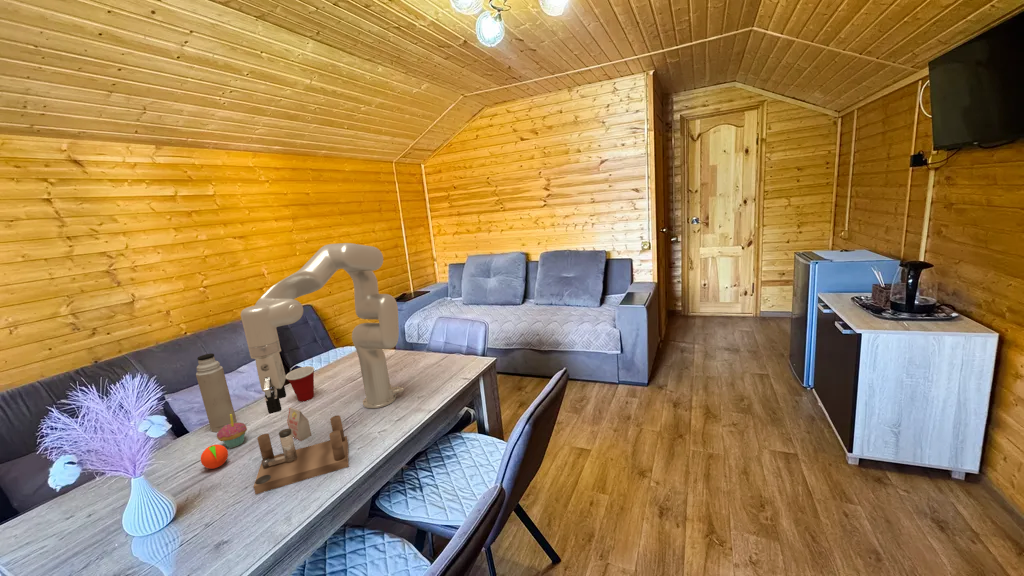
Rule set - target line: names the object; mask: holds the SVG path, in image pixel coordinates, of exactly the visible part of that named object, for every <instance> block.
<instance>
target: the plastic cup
mask: <svg viewBox="0 0 1024 576" xmlns="http://www.w3.org/2000/svg"><path fill="white" fill-rule="evenodd" d="M314 373H315V367H314V366H303V367H298V368H296V369H293V370H291V371H289V372H288V373H287V374H285V375H286V379H285V380H287V381H288V383H289V384H290V386H291V388H292V389H293V391H294V394H295V396H296V398H297V400H298V402H300V403H303V401H304V402H308V401H311V400H312V399H313V398H315V397H314V395H315V390H314V389H315V382H314V378H315V377H314V376H315V375H314ZM307 400H308V401H307Z"/></svg>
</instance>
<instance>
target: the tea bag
mask: <svg viewBox="0 0 1024 576" xmlns="http://www.w3.org/2000/svg"><path fill="white" fill-rule="evenodd" d="M288 409H289V410H288V415H287V420H286V423H287V425H288V429H291V432H292V436H293V437H294V438H293V439H295V438H296V439H295V440H297V439H298V441H300V442H303V441H304V440H306V439H309V438H310V437H312V436H313V435H312V431H311V427H310V421H309V419H308V418H307V417H306V416H305V415H304V414H303V412H302V411H301V410H298V409H296V408H294V407H289V408H288Z"/></svg>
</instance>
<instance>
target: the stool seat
mask: <svg viewBox="0 0 1024 576" xmlns="http://www.w3.org/2000/svg"><path fill="white" fill-rule="evenodd" d="M330 425H331V430H332V431H331V432H330V433H329V434H328V436H329V440H326V441H324V442H323V441H322V442H319V443H315V444H312V445H308V446H304V447H300V448H298V449H296V453H297V458H296V459H295V460H294V461H291V462H282V463H279V464H275V465H272V466H269V467H266V468H263V466H262V462H261V463H260V465H259V468H258V472H257V475H256V478H255V481H254V484H253V490H254V492H255V493H254V494H255V495H259V494H262V493H265V492H269V491H272V490H275V489H279V488H282V487H285V485H286V486H288V485H291V484H296V483H298V482H302V481H305V480H309V479H311V478H312V479H313V478H315V477H318V476H322V475H326V474H329V473H333V472H335V471H339V470H342V469H346V468H348V467H349V441H348V436H347V435H345V431H344V428H343V422H342V417H341V415H334V416H331V417H330ZM269 434H270V433H263V434H260V435H259V436H257V438H256V439H257V442H258V447H259V450H260V454H261V459H262V460H263V459H265V458H269V460H270V459H274V458H277V457H281V456H284V453H283V452H281V453H279V454H275V453H274V451H273V447H272V446H273V445H272V442H271V438H270V435H269ZM262 460H261V461H262ZM271 489H272V490H271ZM268 490H269V491H268ZM264 491H265V492H264Z"/></svg>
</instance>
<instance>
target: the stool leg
mask: <svg viewBox="0 0 1024 576" xmlns="http://www.w3.org/2000/svg"><path fill="white" fill-rule="evenodd" d="M278 435H279V440H280V445H281V448H282V453H284V456H281V457H277V458H274V459H270V460H269V458H265V459H263V460H261V462H262V466H263V468H266V467H269V466H272V465H275V464H279V463H282V462H291V461H294V460H295V459H296V458H297V453H296V450H297V449H296V445H295V441H294V438H293V436H292V432H291V429H289V428H285V429H282V430H280V431H279V432H278Z"/></svg>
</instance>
